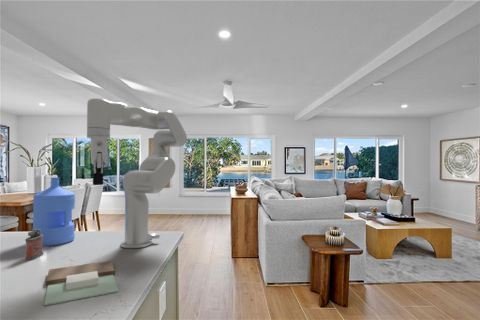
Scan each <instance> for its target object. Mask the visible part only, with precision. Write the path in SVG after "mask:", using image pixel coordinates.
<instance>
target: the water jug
mask: <svg viewBox="0 0 480 320" xmlns="http://www.w3.org/2000/svg"><path fill="white" fill-rule="evenodd" d="M75 195H76V193H75V192H73V191H70V190H67V189H65V188H62V187H61V186H60V177H50V187H48V188H46V189H44V190H42V191H39V192H37V193H35V194H34V195H33V200H32V205H33V207H32V208H33V211H32V212H33V213H32V215H33V216H32V230H34V229H41V232H40V234H43V247H53V246H59V245H64V244H68V243H70V242H72V241H74V240H75V237H76V234H75V223H74V222H73V220H72V219H73V218H72V217H73V216H72V215H73V210H74V209H75V208H76V206H75V203H76V196H75Z"/></svg>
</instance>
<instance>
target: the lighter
mask: <svg viewBox="0 0 480 320" xmlns="http://www.w3.org/2000/svg"><path fill="white" fill-rule="evenodd" d="M40 232H41V229H34V230H33V229H31V230H30V231H29V232H28V233H27V236H28V237H27V238H25V261H27V262H28V261H34V260H35V259H38V258H40V257H42V256H43V255H44V249H43V247H44V246H43V234H40Z"/></svg>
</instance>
